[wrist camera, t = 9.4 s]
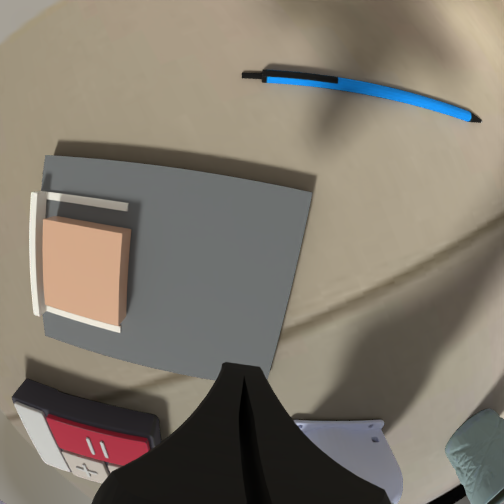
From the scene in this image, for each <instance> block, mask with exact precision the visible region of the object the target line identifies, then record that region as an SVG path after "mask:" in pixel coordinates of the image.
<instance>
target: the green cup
mask: <svg viewBox="0 0 504 504" xmlns="http://www.w3.org/2000/svg"><path fill="white" fill-rule="evenodd" d="M445 453H446V455H447V457H448V459H449V461H450V462H451V464H452V466H453V468H455V470H456V474H457V476H458V478H459V480H460V482H461V484H462V485H464V487H465V490H466V494H467V496H468V498H469V500H470V503H471V504H500V503H502V502H503V501H504V419H503V418H501V417H499V415H498V414H497V413H496V412H495V411H494V410H492V409H485V410H483V411H480V412H479V413H477V414H475V415H474V416H472V417H471V418H470V419H468V420H467V421H466V422H465V423H464V424H463V425H462V426H460V428H459V429H457V430H456V432H455V433H454V434H453V435H452V437H451V438H450V440H449V441H448V443H447V445H446V448H445Z"/></svg>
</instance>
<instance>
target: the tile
mask: <svg viewBox="0 0 504 504" xmlns="http://www.w3.org/2000/svg"><path fill="white" fill-rule="evenodd" d="M130 239H131V229H128V228H122V227H116V226H111V225H105V224H99V223H94V222H88V221H82V220H77V219H71V218H65V217H60V216H53V217H49V218H45V219H43V243H42V252H43V284H44V299H45V305H48V306H51V307H54V308H57V309H60V310H63V311H66V312H70V313H73V314H76V315H80V316H83V317H86V318H90V319H93V320H97V321H101V322H104V323H108V324H112V325H116V326H119V325H120V324H121V322H122V321H123V320H124V319H125V317H126V306H127V281H128V264H129V251H130Z"/></svg>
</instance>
